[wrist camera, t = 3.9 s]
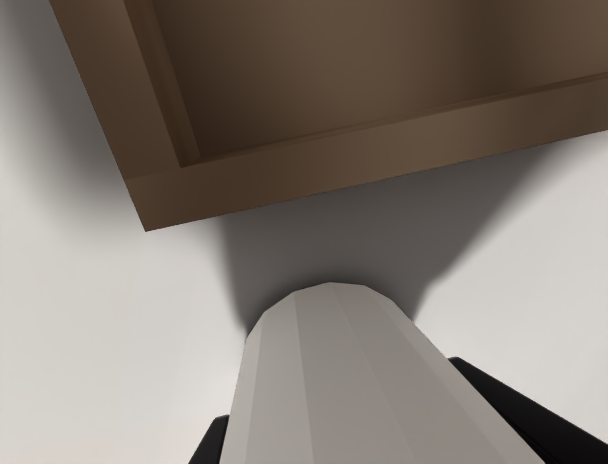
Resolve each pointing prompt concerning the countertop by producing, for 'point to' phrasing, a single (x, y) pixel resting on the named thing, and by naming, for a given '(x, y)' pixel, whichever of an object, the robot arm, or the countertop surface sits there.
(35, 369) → the countertop surface
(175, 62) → the walnut tray
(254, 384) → the white cup
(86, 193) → the countertop surface
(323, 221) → the countertop surface
